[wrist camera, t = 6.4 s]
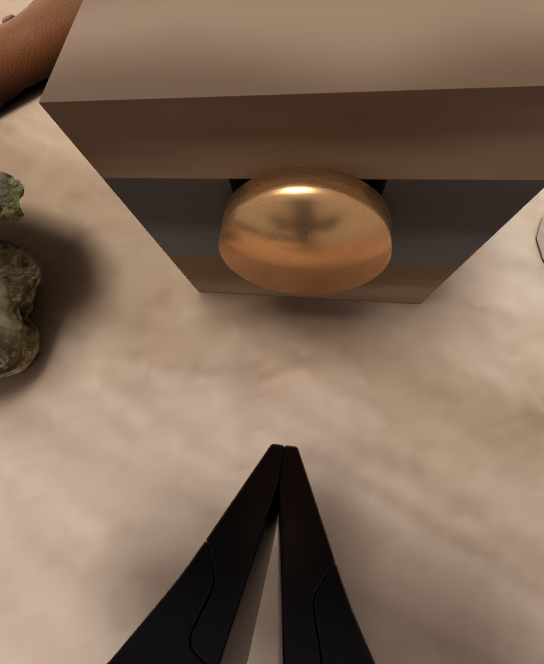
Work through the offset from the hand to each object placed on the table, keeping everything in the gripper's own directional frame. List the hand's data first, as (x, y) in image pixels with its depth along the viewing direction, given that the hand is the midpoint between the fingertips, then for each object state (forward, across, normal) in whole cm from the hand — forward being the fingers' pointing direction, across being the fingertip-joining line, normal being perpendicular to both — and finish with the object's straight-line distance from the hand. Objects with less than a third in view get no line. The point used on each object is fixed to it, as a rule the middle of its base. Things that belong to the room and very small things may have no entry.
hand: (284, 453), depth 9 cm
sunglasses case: (+27, +27, -17) cm, 42 cm away
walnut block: (+15, 0, -6) cm, 16 cm away
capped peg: (+11, 0, -7) cm, 13 cm away
